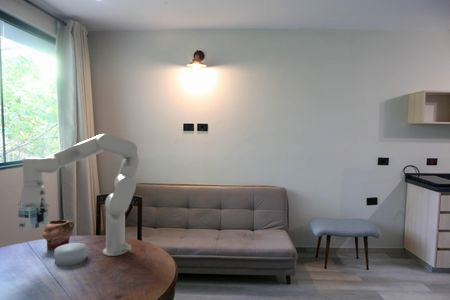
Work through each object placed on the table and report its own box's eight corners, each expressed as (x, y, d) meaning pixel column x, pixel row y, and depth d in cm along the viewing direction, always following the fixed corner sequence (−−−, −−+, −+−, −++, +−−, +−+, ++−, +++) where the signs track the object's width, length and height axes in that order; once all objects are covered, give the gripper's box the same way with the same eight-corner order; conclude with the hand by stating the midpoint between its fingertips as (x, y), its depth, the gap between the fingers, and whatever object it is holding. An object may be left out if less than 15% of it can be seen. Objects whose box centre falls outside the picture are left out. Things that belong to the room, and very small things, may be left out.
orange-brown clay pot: (63, 238, 173) (63, 215, 172) (81, 240, 171) (81, 217, 170) (35, 251, 153) (35, 225, 152) (56, 253, 151) (56, 227, 150)
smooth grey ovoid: (92, 255, 150) (92, 244, 150) (73, 267, 137) (73, 255, 136) (68, 252, 153) (68, 241, 153) (47, 264, 139) (47, 252, 139)
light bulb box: (30, 231, 131) (29, 207, 130) (18, 229, 132) (17, 206, 132) (49, 223, 141) (48, 202, 141) (37, 222, 143) (36, 201, 142)
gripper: (55, 183, 137) (55, 220, 138) (23, 181, 141) (24, 217, 142) (42, 186, 130) (43, 225, 131) (9, 184, 133) (10, 222, 134)
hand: (33, 221), depth 136 cm, fingers closed on light bulb box, 6 cm apart
